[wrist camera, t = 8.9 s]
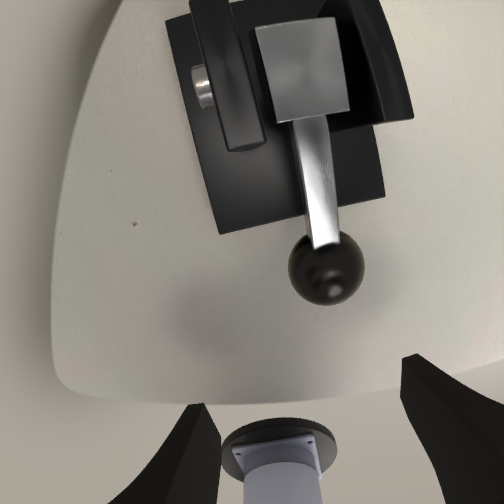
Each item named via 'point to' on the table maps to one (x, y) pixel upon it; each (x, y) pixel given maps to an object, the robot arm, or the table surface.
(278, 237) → the table surface
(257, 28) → the lever
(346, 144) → the bracket
